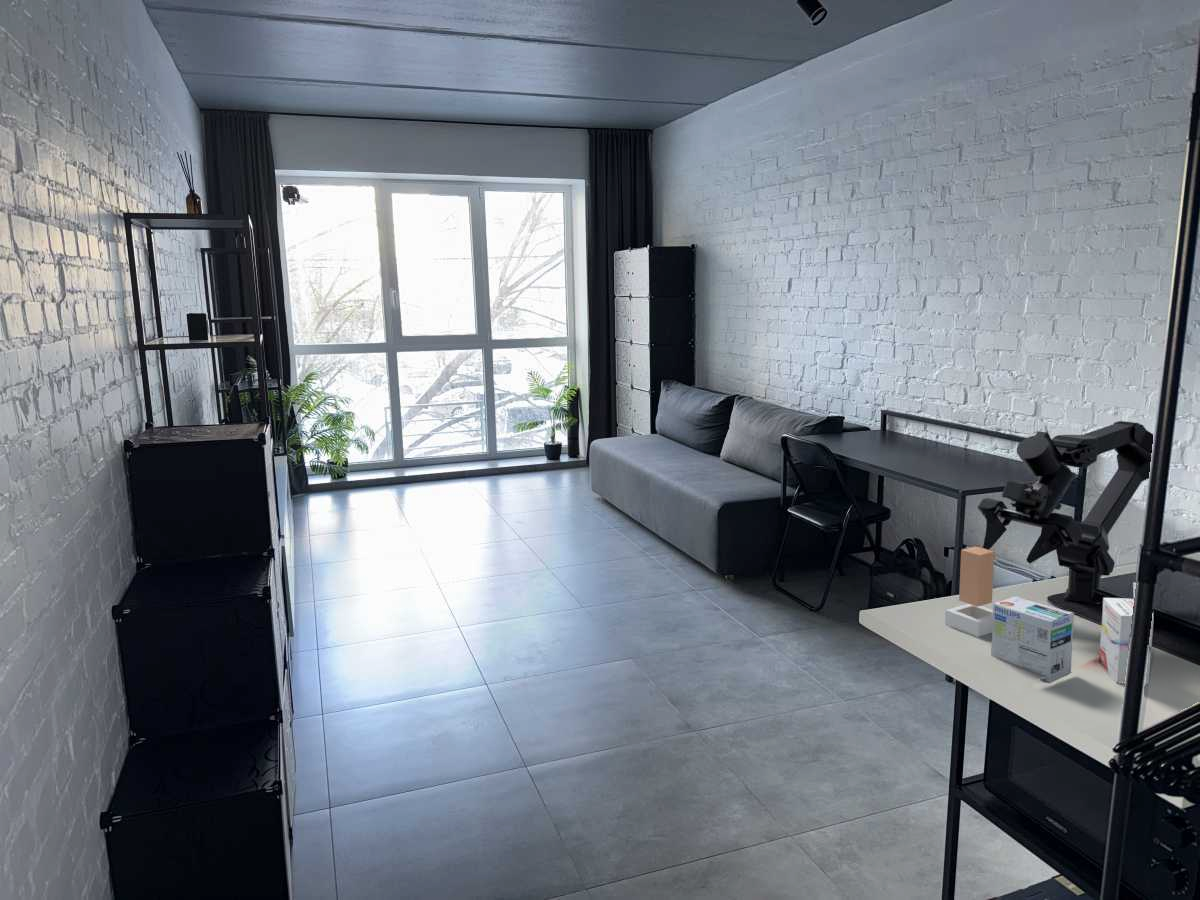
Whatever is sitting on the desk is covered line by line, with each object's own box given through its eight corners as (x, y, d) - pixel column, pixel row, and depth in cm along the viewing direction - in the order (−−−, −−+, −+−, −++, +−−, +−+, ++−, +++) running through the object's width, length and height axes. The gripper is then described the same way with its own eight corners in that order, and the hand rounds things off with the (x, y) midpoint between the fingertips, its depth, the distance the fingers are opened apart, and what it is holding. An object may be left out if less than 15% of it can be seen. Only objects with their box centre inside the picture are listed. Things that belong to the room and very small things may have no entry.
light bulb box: (1072, 673, 142) (1076, 612, 140) (1048, 684, 139) (1052, 621, 137) (1012, 652, 151) (1015, 594, 149) (988, 662, 148) (991, 602, 146)
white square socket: (970, 617, 165) (971, 602, 164) (1004, 629, 159) (1004, 614, 158) (944, 625, 162) (945, 610, 161) (977, 637, 155) (978, 622, 155)
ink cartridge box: (1096, 661, 146) (1102, 579, 144) (1128, 663, 145) (1135, 580, 143) (1115, 684, 138) (1122, 597, 135) (1149, 686, 137) (1157, 598, 134)
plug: (973, 596, 162) (975, 546, 160) (991, 602, 158) (994, 551, 157) (959, 600, 160) (961, 549, 158) (977, 606, 157) (979, 555, 155)
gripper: (985, 457, 169) (945, 520, 166) (1076, 473, 153) (1033, 543, 150) (1010, 491, 174) (971, 552, 171) (1100, 509, 158) (1059, 578, 155)
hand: (1005, 555), depth 162 cm, fingers open, 9 cm apart
